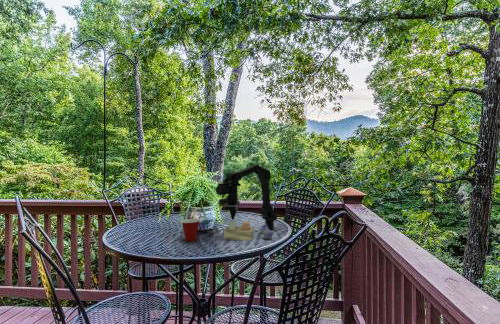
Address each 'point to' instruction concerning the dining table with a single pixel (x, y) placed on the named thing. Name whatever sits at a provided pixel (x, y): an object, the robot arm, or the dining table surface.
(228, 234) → the press panel
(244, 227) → the terracotta plug
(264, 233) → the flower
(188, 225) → the plastic cup
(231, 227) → the grey plug
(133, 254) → the dining table surface
